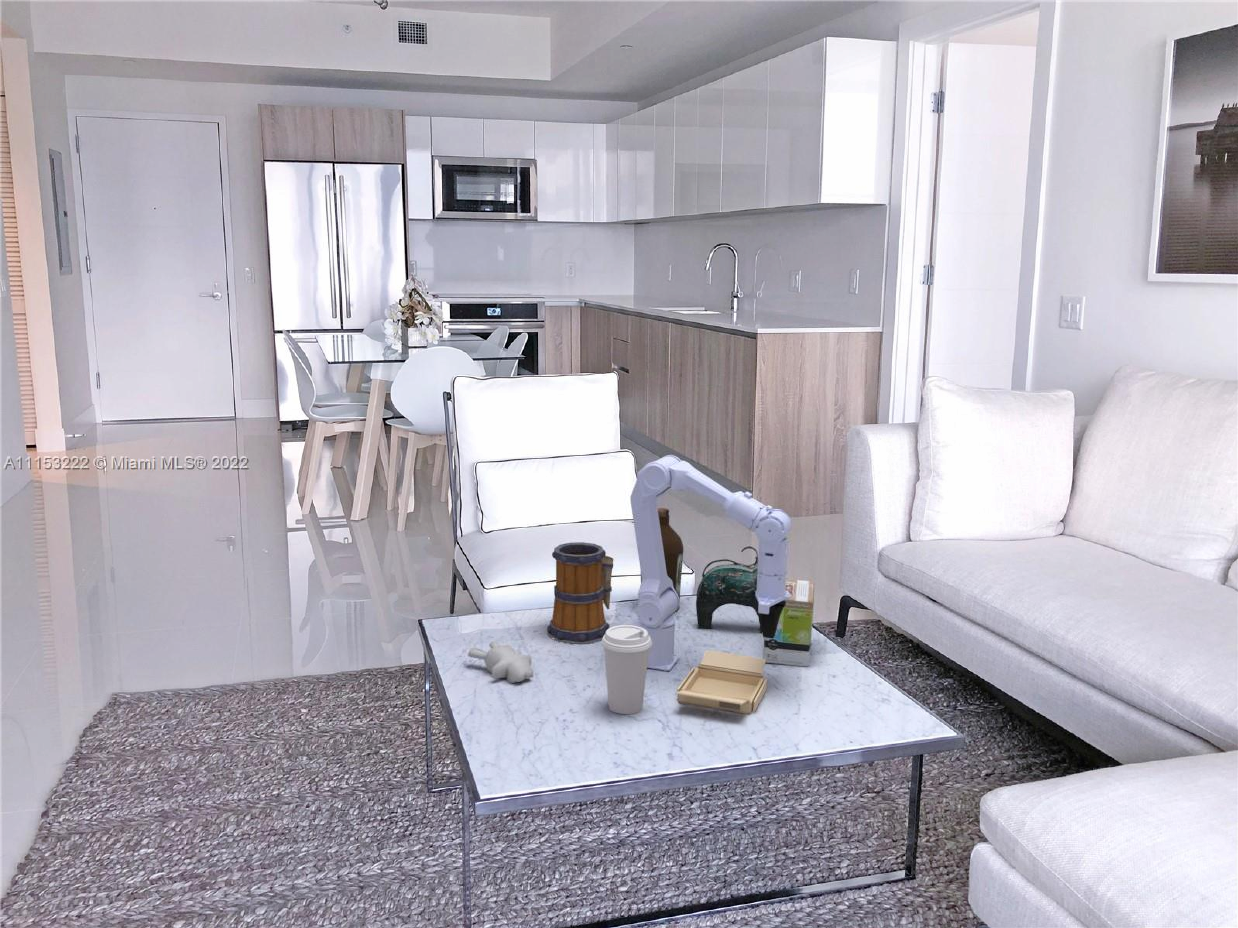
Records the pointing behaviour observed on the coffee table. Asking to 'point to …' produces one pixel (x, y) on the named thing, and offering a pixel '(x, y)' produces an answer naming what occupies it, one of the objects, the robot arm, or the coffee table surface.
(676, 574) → the olive oil
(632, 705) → the coffee cup
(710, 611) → the green animal figurine
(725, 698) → the flap near
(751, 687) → the carton
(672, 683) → the coffee table surface
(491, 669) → the bunny figurine
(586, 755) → the coffee table surface
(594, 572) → the mug
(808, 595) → the tea box
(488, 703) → the coffee table surface
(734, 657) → the flap far
